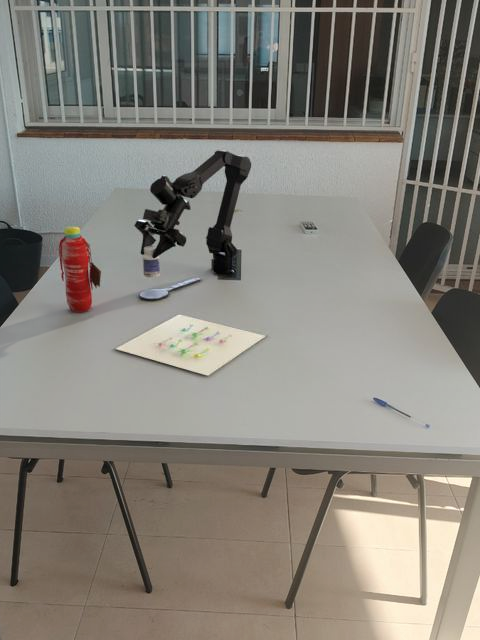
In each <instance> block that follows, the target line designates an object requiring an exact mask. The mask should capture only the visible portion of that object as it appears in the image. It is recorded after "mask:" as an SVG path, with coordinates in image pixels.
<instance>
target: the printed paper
mask: <svg viewBox="0 0 480 640" xmlns="http://www.w3.org/2000/svg"><path fill="white" fill-rule="evenodd" d="M265 337H266V335H265V334H260V333H255V332H252V331H247V330H243V329H240V328H239V329H238V328H235V327H231V326H228V325H224V324H219V323H216V322H211V321H207V320H204V319H201V318H195V317H191V316H188V315H183V314H177V315H175V316H173V317H171V318H169V319H168V320H166V321H164V322H162V323H161V324H158V325H156V326H155V327H153V328H151V329H149V330H147V331H145V332H144V333H142V334H140V335H138V336H136V337H135V338H132V339H130V340H128V341H126V342H125V343H123V344H121V345H120V346H118V347H116V348H115V350H118V351H121V352H125V353H127V354H132V355H135V356H138V357H142V358H145V359H148V360H153V361H155V362H160V363H162V364H166V365H168V366H169V365H170V366H173V367H176V368H180V369H184V370H187V371H190V372H193V373H197V374H200V375H204V376H207V377H208V376H210V375H211V374H213V373H214V372H216V371H217V370H219V369H220V368H222V367H223V366H224V365H226V364H228V363H229V362H231V361H232V360H233V359H235V358H237V356H239V355H240V354H242V353H244V352H245V351H246V350H248V349H249V348H251V347H252V346H254V345H255V344H256V343H258V342H260V341H261V340H262V339H264V338H265Z"/></svg>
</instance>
